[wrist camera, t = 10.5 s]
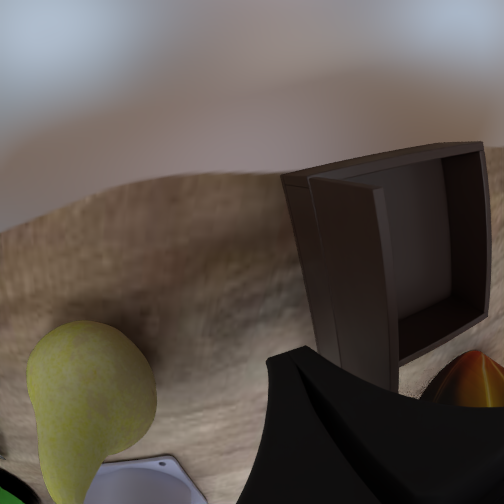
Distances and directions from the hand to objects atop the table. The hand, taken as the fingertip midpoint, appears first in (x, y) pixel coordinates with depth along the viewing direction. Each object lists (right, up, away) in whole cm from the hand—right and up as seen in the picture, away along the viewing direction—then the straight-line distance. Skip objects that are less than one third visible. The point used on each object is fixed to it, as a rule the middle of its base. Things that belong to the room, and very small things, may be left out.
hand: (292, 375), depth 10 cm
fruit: (-10, -2, +7) cm, 12 cm away
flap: (+3, +1, +1) cm, 3 cm away
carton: (+7, +4, +8) cm, 12 cm away
